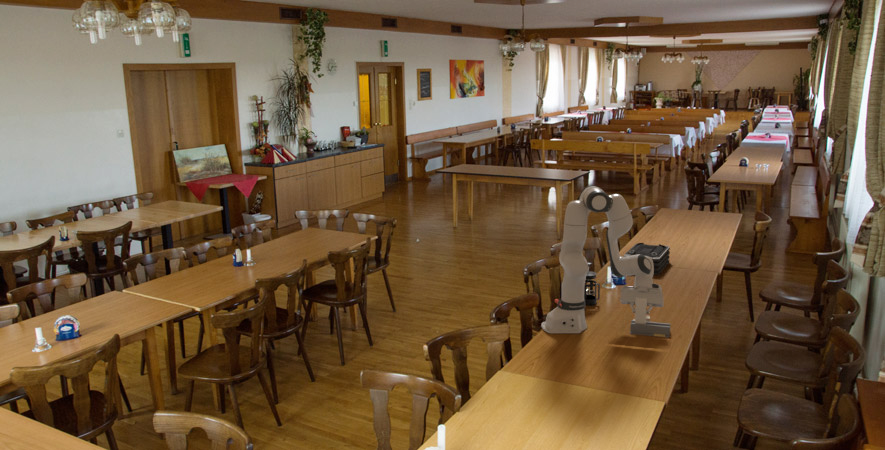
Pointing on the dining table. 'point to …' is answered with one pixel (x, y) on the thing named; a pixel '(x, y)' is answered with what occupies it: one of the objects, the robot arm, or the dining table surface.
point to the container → (652, 255)
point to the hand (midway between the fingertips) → (640, 312)
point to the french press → (591, 288)
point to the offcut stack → (646, 319)
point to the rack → (650, 329)
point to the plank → (640, 310)
